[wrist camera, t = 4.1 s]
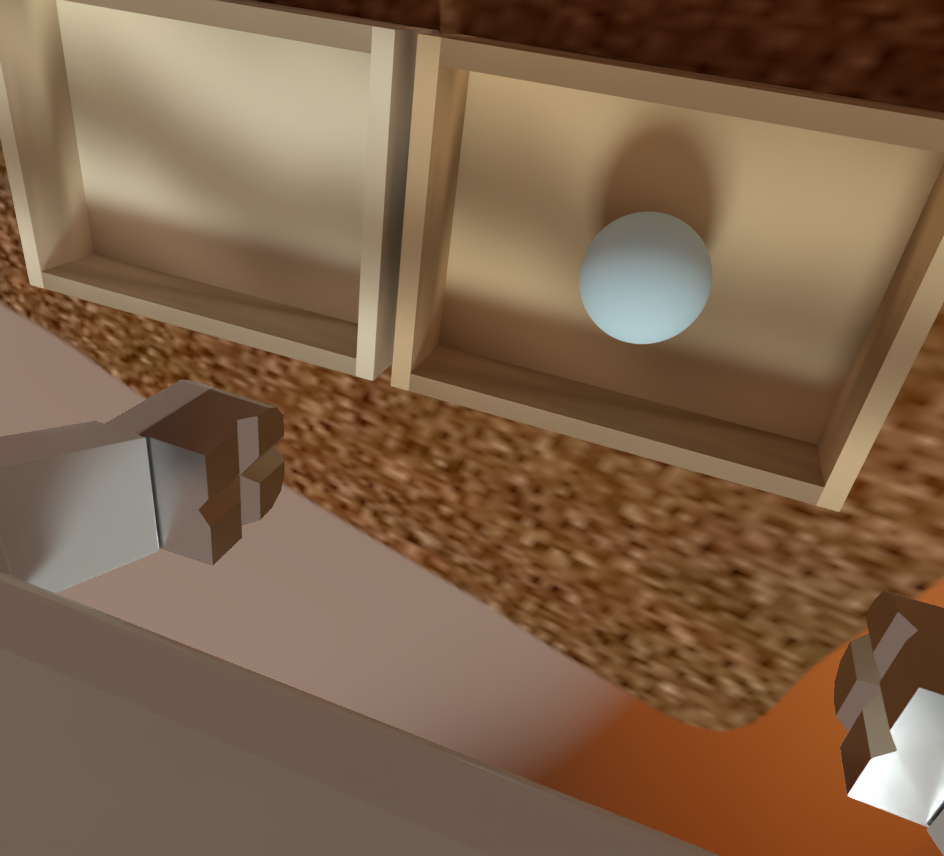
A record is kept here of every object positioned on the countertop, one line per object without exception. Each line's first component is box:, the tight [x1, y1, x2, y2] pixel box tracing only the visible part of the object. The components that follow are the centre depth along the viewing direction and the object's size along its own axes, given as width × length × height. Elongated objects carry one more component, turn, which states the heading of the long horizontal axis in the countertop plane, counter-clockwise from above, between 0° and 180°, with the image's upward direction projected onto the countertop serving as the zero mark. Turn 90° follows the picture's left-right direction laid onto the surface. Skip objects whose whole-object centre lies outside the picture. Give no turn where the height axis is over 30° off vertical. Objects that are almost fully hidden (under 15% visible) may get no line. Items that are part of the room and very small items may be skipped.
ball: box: [579, 212, 712, 344], centre depth 19 cm, size 3×3×3 cm
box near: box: [391, 34, 944, 512], centre depth 19 cm, size 10×13×3 cm
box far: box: [0, 0, 439, 381], centre depth 22 cm, size 10×13×3 cm
